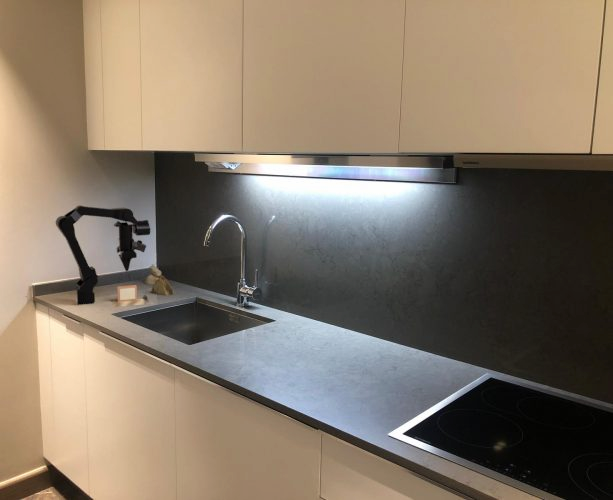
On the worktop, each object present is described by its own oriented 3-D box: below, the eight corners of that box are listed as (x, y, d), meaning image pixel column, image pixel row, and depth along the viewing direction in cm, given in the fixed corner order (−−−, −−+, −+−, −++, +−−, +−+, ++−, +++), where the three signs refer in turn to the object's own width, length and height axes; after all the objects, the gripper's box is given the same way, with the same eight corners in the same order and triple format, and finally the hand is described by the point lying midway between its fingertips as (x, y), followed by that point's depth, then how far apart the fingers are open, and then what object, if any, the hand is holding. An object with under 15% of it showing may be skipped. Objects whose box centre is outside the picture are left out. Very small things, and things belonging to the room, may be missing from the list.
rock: (144, 289, 258) (152, 290, 250) (154, 273, 260) (162, 274, 252) (163, 300, 263) (171, 302, 255) (172, 285, 266) (181, 286, 258)
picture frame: (118, 302, 241) (117, 287, 240) (117, 301, 242) (117, 286, 241) (137, 300, 244) (136, 285, 243) (136, 299, 245) (136, 285, 244)
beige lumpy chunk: (155, 285, 276) (154, 265, 274) (143, 283, 280) (142, 264, 278) (162, 283, 281) (162, 264, 279) (151, 281, 284) (150, 262, 283)
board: (114, 308, 233) (114, 306, 233) (111, 302, 242) (111, 301, 242) (152, 304, 240) (152, 303, 240) (148, 299, 249) (148, 298, 248)
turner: (145, 303, 238) (145, 301, 238) (141, 297, 249) (141, 295, 248) (152, 303, 240) (152, 300, 239) (148, 297, 250) (148, 294, 250)
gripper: (148, 238, 239) (149, 273, 242) (141, 232, 256) (142, 265, 259) (121, 239, 235) (122, 275, 237) (116, 233, 251) (117, 267, 254)
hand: (126, 270), depth 247 cm, fingers closed
